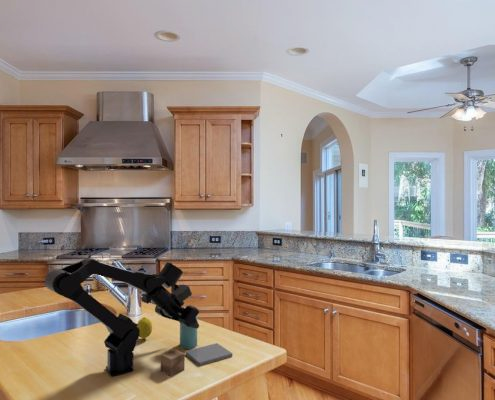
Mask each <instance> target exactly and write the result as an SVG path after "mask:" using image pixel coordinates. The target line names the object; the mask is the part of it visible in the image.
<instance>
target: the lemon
mask: <svg viewBox="0 0 495 400" xmlns="http://www.w3.org/2000/svg"><path fill="white" fill-rule="evenodd" d="M136 324H138V326H137V327H138V328H139V330H140V334H139V338H141V339H143V340H146V338H148V337H149V336H150V335H151V334H152V331H153V324H152V321H151V320H150V319H149V318H147V317H145V316H143V317H142V318H141V319H139V320H138V321H137V323H136Z"/></svg>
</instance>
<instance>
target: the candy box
mask: <svg viewBox="0 0 495 400" xmlns="http://www.w3.org/2000/svg"><path fill="white" fill-rule="evenodd" d="M101 262H102V263H105V264H109V265H112V264H113V263H112V261H101ZM112 266H113V265H112ZM105 278H106V279H107V280H109V281H110V282H111V283H112V282H113V281H112V280H113V279H111V278H108V277H105ZM93 290H94V291H102V290H103V291H104V290H106V291H108V290H107V289H106V287H105V286H103V285H102V284H101V283H100V282H99V281H98V280H96V278H94V277H93Z"/></svg>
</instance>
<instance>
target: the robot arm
mask: <svg viewBox="0 0 495 400" xmlns="http://www.w3.org/2000/svg"><path fill="white" fill-rule="evenodd" d="M102 262H103V261H100V260H98V259H95V258H91V257H86V258H84V259H82V260H80V261H78V262H75V263H72V264H70V265H67V266H65V267H63V268H60V269H59V268H56V269H53V270H51V271H49V272H48V273H47V275H46V276H45V278H44V285H45V287H46V288H47V289H48V290H50V291H51V292H54V293H55V294H58V295H59V296H62V297H63V298H66V299H68V300H71V301H72V302H73V303H75V304H76V305H78V307H80V308H81V309H83V310H84V311H85V312H86V313H88V314H89V315H90V316H92V318H94V319H96V320H97V321H98V322H99V323H101V324H103V325H104V327H105V328H106V329H107V331H108V332H109V335H107V337H106V338H105V340H103V343H104V345H105V348H106V349H107V366H105V370H106V371H107V373H108V374H109V375H110V377H115V376H119V375H122V374H126V373H130V372H133V371H134V368H133V367H134V351H135V349H136V346H137V342H138V340H139V338H140V337H139V334H140V330H139V328H138V327H137V326H138V324H137V323H136V322H134V321H133V319H132V318H131V317H128V316H127V315H124V314H123V313H119V314H118V316H117V315H115V314H114V313H113V312H112V311H111V310H109V309H108V308H107V307H106V306H104V305H103V304H102V303H101V302H100V301H98V300H97V299H96V298H94V296H92V295H91V294H90V293H88V292H87V291H86V290H85V289H84V287H83V286H82V284H83V283H84V282H85V281H86V280H87V279H89V278H90V277H91V276H94V274H97V275H101V276H104V277H108V278H111V279H112V280H116V281H118V282H123V283H125V284H127V285H128V286H130V287H132V288H134V289H136V290H139V291H142V292H144V293H142V294H141V302H142V303H144V304H147V305H148V304H149V303H151V302H152V303H153V304H155V307H154V312H155V313H156V314H157V315H159V316H161V317H163V318H166V319H169V320H173V321H177V322H178V323H179V324H180V323H181V324H183V325H184V326H186V327H192V328H197V330H198V329H199V327H200V324H199V321H198V318H197V319H196V316H197V317H198V314H199V313H200V309H199V308H197V307H196V306H193V305H190V304H189V305H186V306H185V307H186V308H184V307H183V306H184V304H185V301H186V300H187V299H188V298H189V297H191V296H192V295H193V294H192V290H191V287H190V286H189V285H186V284H179V285H178V281H179V279H180V278H181V277H182V275H183V274H184V271H183V270H182V269H181V268H179V267H178V266H176V265H174V264H173V263H172V262H169V261H167V262H166V263H165V265H164V266H163V267H162V269H161V271H160V272H159V273H158V274H156V273H151V272H146V271H143V270H135V269H134V270H132V269H131V270H129V269H125V268H121V267H118V266H116V265H115V266H114V265H109V264H105V263H102ZM167 289H171V291H169V290H167Z"/></svg>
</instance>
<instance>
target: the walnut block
mask: <svg viewBox="0 0 495 400" xmlns="http://www.w3.org/2000/svg"><path fill="white" fill-rule="evenodd" d="M185 355H186V354H185V352H183V351H180V350H178V349H175V348H173V349H170V350H168V351H165V352H163V353H160V372H162V373H164V374H166V375H167V376H169V377H172V376H175V375H177V374H179V373H181V372H184V371H185V361H186V360H185V357H186V356H185Z"/></svg>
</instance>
